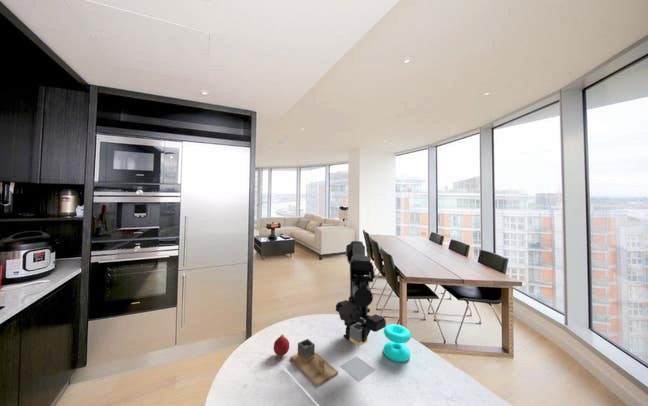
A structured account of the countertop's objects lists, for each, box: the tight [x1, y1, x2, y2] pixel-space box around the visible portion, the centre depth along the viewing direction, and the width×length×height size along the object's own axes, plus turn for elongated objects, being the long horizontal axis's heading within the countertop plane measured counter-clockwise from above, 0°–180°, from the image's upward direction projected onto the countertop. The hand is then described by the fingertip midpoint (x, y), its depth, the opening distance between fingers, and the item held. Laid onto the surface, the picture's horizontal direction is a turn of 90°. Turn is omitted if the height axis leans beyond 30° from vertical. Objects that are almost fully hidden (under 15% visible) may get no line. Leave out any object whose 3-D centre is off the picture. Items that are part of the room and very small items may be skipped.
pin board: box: [289, 338, 339, 388], centre depth 81 cm, size 9×16×6 cm, turn 40°
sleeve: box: [348, 322, 368, 347], centre depth 81 cm, size 4×4×5 cm
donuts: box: [382, 323, 412, 363], centre depth 90 cm, size 10×10×10 cm
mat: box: [339, 355, 376, 383], centre depth 81 cm, size 9×9×1 cm
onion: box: [273, 333, 290, 357], centre depth 87 cm, size 6×6×8 cm
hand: (358, 338), depth 81 cm, fingers closed on sleeve, 4 cm apart
